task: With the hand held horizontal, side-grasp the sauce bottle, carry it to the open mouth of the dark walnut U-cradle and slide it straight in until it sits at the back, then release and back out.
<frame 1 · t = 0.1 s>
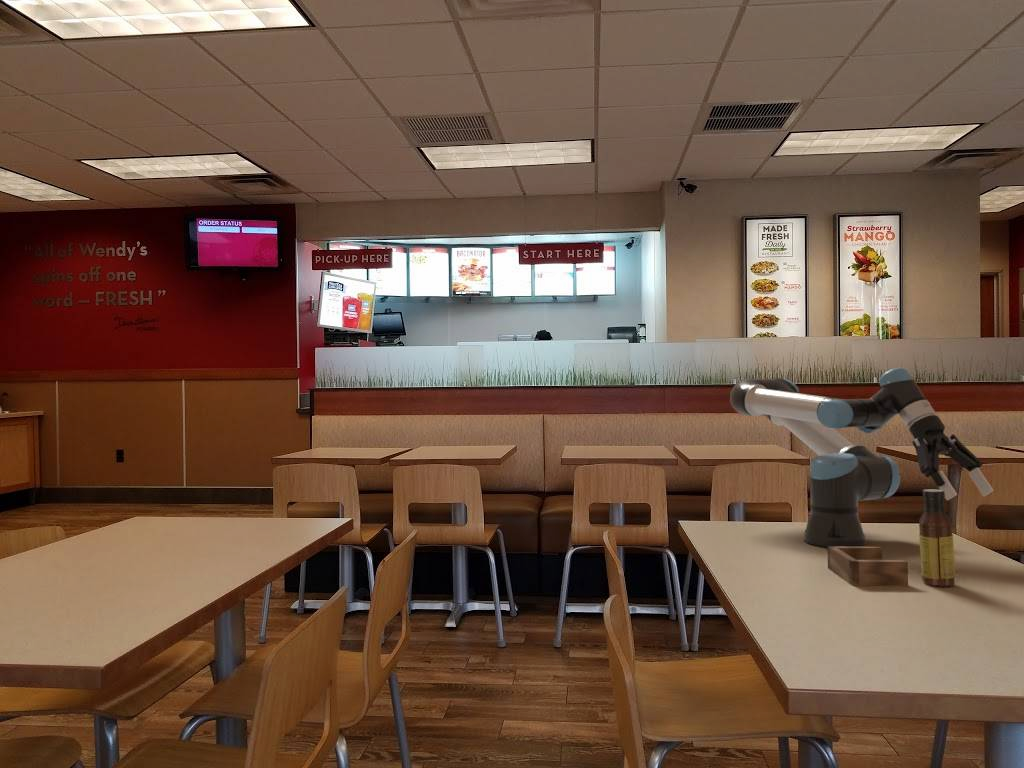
hand: (970, 495, 183), 15 cm above the table, tool tilted 35°, fingers open, 13 cm apart
cradle: (869, 576, 168), on the table
sauce bottle: (937, 585, 161), on the table
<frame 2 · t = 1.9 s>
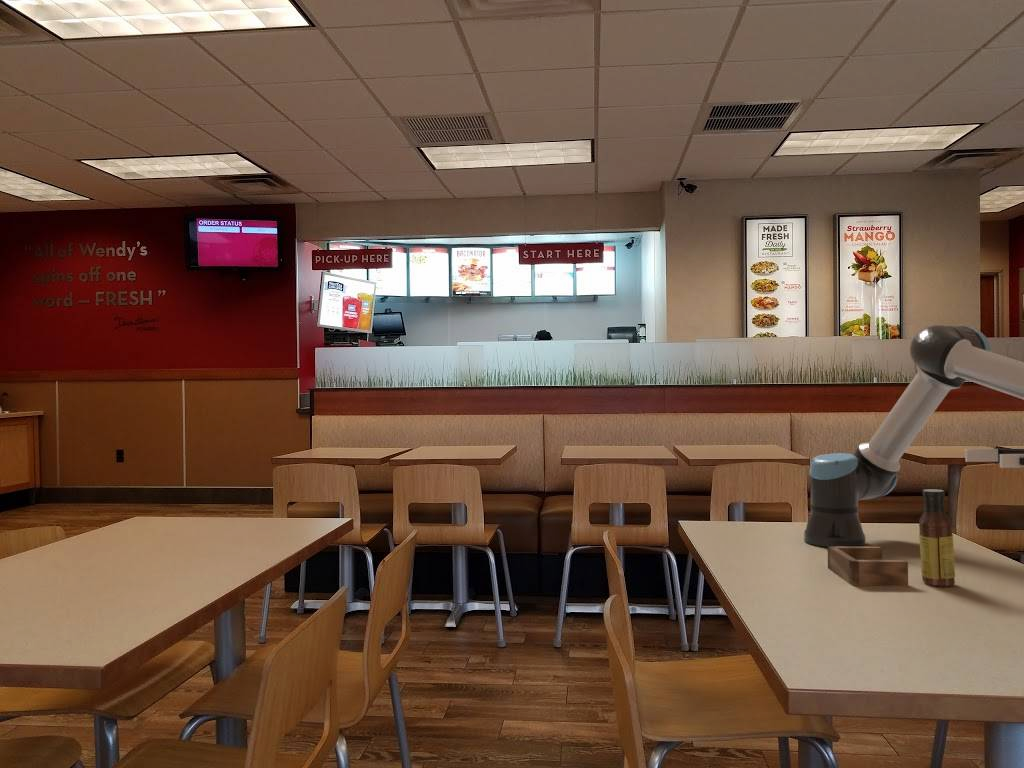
hand: (982, 458, 160), 27 cm above the table, tool horizontal, fingers open, 13 cm apart
nothing on the table moved.
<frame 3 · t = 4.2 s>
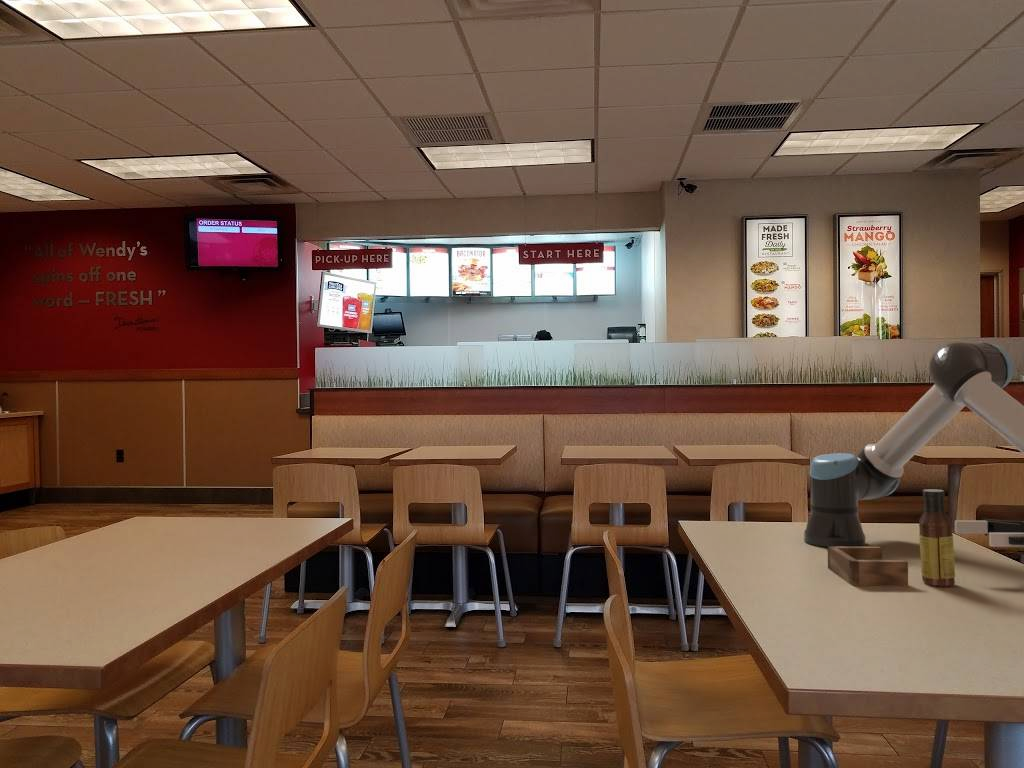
hand: (971, 533, 160), 11 cm above the table, tool horizontal, fingers open, 13 cm apart
nothing on the table moved.
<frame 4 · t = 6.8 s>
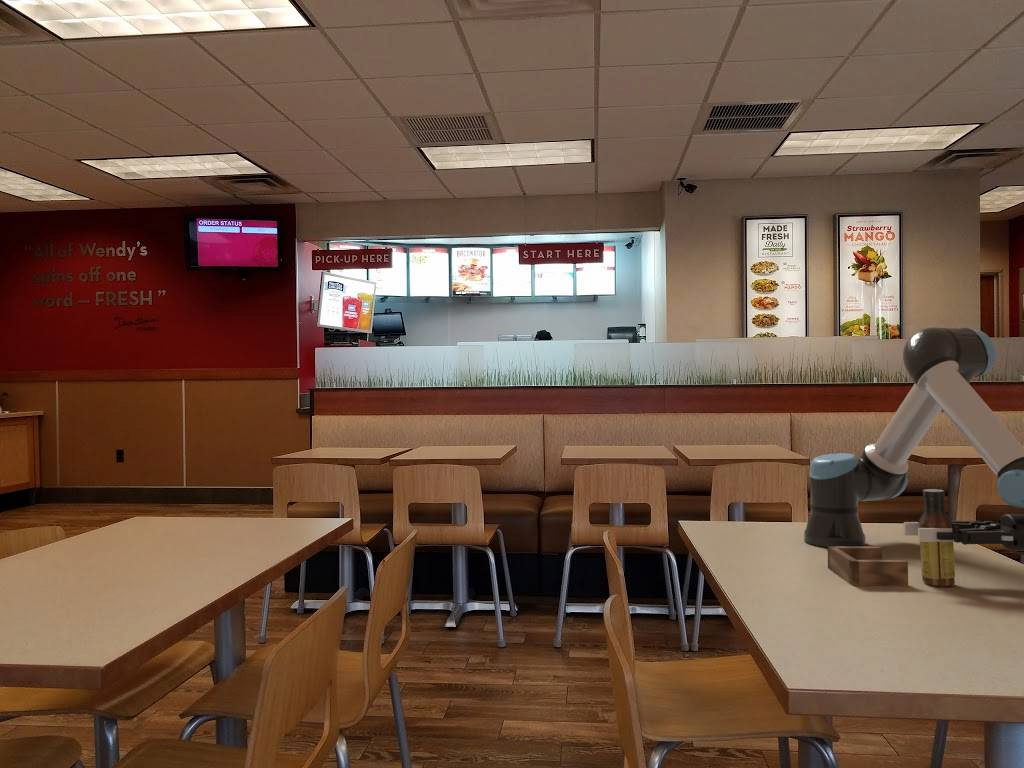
hand: (911, 531, 161), 11 cm above the table, tool horizontal, fingers closed on sauce bottle, 6 cm apart
sauce bottle: (937, 584, 161), on the table, touching gripper
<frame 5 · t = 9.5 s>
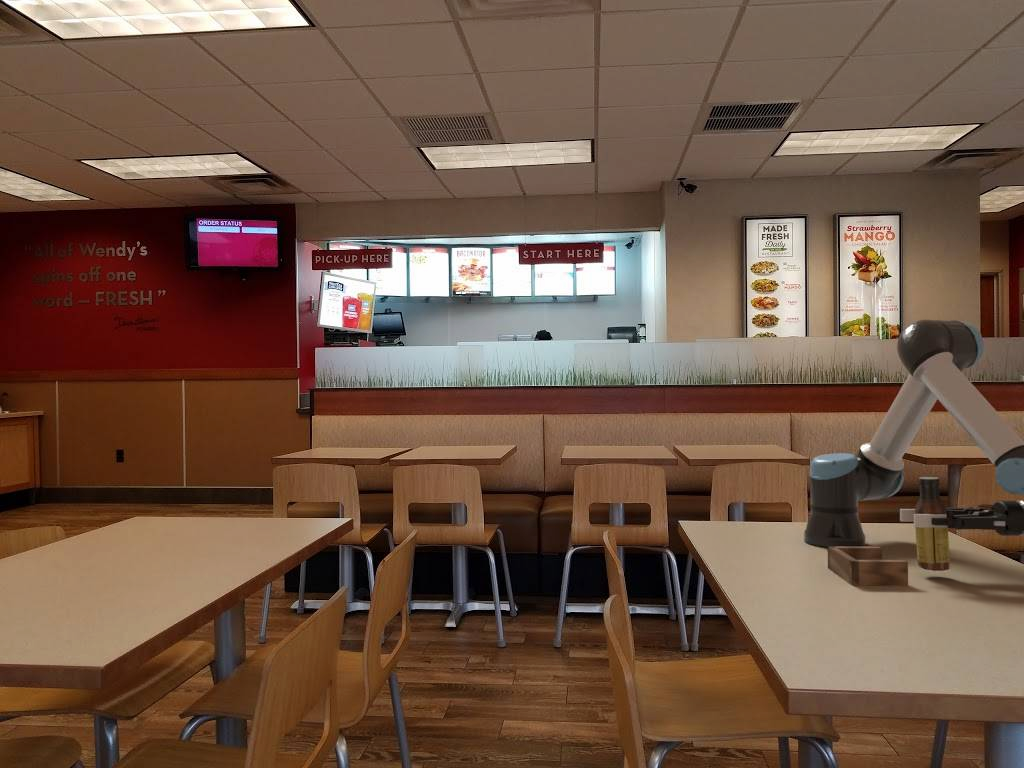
hand: (907, 518, 167), 13 cm above the table, tool horizontal, fingers closed on sauce bottle, 6 cm apart
sauce bottle: (932, 569, 166), point 2 cm above the table, touching gripper
when the fingers open (13 cm above the table, at t = 12.7 s): sauce bottle drops 2 cm, on the table.
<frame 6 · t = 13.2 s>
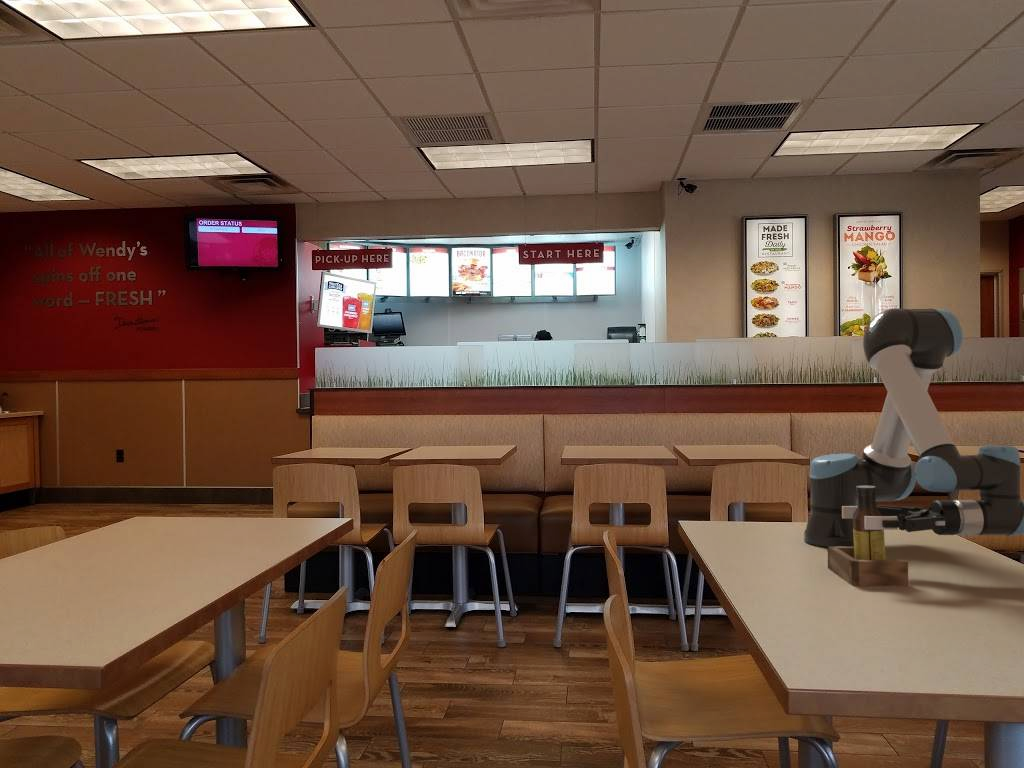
hand: (853, 517, 168), 13 cm above the table, tool horizontal, fingers open, 13 cm apart
sauce bottle: (869, 577, 168), on the table
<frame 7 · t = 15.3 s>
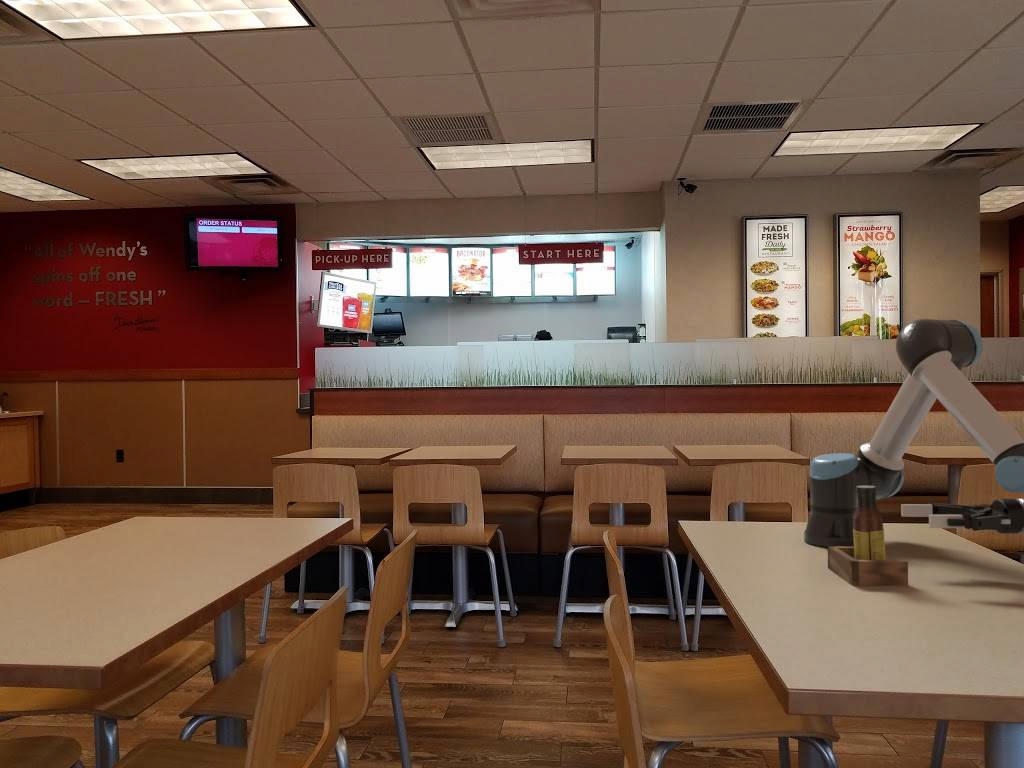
hand: (915, 515, 167), 13 cm above the table, tool horizontal, fingers open, 13 cm apart
nothing on the table moved.
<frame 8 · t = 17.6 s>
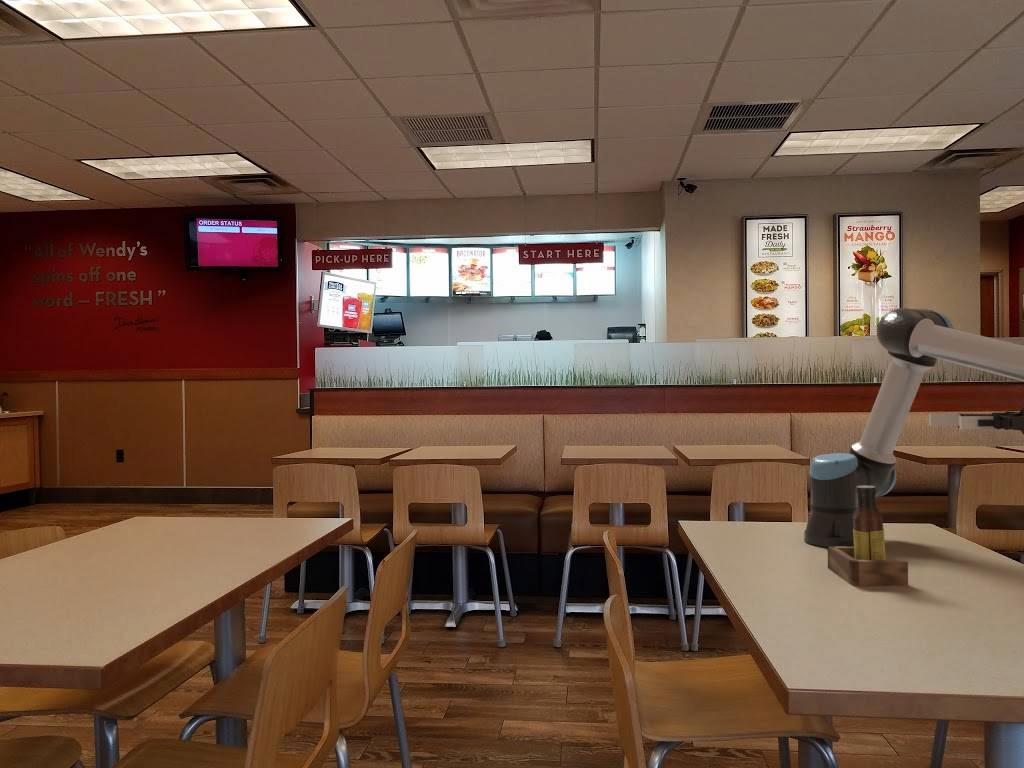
hand: (944, 421, 168), 34 cm above the table, tool horizontal, fingers open, 13 cm apart
nothing on the table moved.
at the end: sauce bottle 0.1 cm from the cradle (horizontally); sauce bottle tilted 0°; the gripper is holding nothing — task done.
